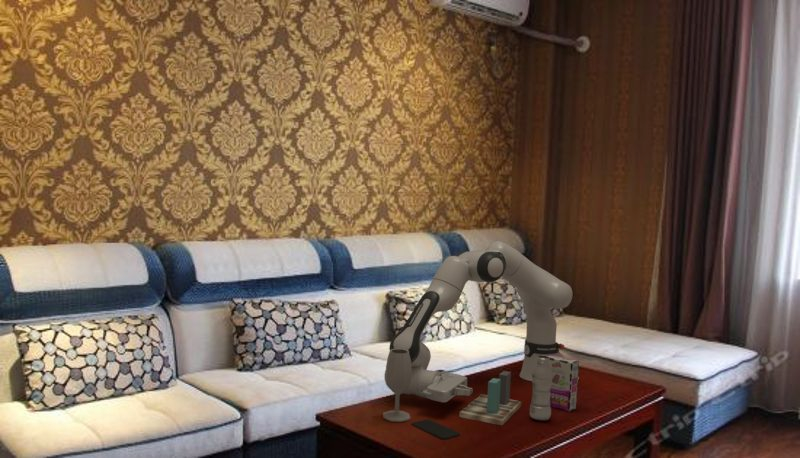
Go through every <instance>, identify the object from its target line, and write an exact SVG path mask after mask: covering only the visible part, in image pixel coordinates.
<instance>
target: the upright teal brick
mask: <svg viewBox="0 0 800 458" xmlns="http://www.w3.org/2000/svg"><path fill="white" fill-rule="evenodd" d="M500 386H501V379H499V378H496V377H495V378H494V377H493V378H491V379H490V380H489V381H487V395H488V397H487V412H488V413H493V414H496V413H497V412H498V411H499V403H500Z"/></svg>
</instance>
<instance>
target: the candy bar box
mask: <svg viewBox="0 0 800 458" xmlns="http://www.w3.org/2000/svg"><path fill="white" fill-rule="evenodd" d="M547 356H548V357H549V358H550V359H549V362H550V363H549V364H548V365H549V367H550V368H551V370H552V373H553V378H552V383H551V390H550V406H551V408H554V409H559V410H562V411H565V412H567V413H568V412H572V411H574V410H576V409H577V401H578V400H577V399H578V398H577V397H578V382H579V381H578V377H579V366H580V360H577V359H572V358H567V357H566V358H564V357H559V356H555V355H547Z"/></svg>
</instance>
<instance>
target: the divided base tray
mask: <svg viewBox="0 0 800 458" xmlns="http://www.w3.org/2000/svg"><path fill="white" fill-rule="evenodd" d="M487 397H488V394H483V393H480V395H479V396H478V397H475V399H473V401H471V402H469V404H468V405H466V406H465V407H463V408H462V410H460V411H459V414H458V415H459V416H458V417H459V418H463V419H467V420H468V419H469V420H473V421H478V422H482V423H486V424H493V425H496V426H497V425H498V426H504V424H506V423H507V422H508V421H509V420H510V418H511V417H512V416H513V415H515V413H517V412H518V410H519V409H520V408H521V407H522V401H519V400H516V399H515V400H514V399H511V398H509V403H508V404H506V405H502V404H499V411H498V412H497V413H496V414H493V413H488V412H487Z"/></svg>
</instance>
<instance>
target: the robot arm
mask: <svg viewBox="0 0 800 458" xmlns="http://www.w3.org/2000/svg"><path fill="white" fill-rule="evenodd" d="M501 278H502V279H504V280H505V281H506V282H508V283H509V284H510V285H512V286H513V287H514V288H516V292H517V294H518V296H519V297H520V299H521V301H522V304H523V308H524V310H525V311H524V312H525V317H526V333H525V334H526V336H525V340H524V346H523V347H524V348H523V353H524V357H523V361H522V362H523V363H522V366H521V370H520V373H519V377H520V378H521V379H522V380H525V381H529V382H532V370H533V369H534V367H535V366H536V365H537V364H538V363H537V357H538V356H547V355H555V356H559V357H564V358H567V357H566V356H565V355H564V354H563V353H561V352H560V350H564V349H565V345H564V344H562V343H558V342H557V325H558V324H557V320H556V318H555V317H554V316H553V314H552V312H551V311H552V310H551V309H558V310H559V309H565V308H567V307H568V306H569V305H570V304H571V303H572V299H573V290H572V287H571V286H570V285H569V284H568V283H566V282H565V281H563V280H561V279H559V278H558V277H556V276H555V275H554V274H551V273H550V272H549V271H547V270H545V269H543V268H541V267H540V266H538V265H536V264H535V263H534V262H532V261H531V260H530V259H528V257H526V256H525V255H523V254H522V253H521V252H520V251H519V250H517V249H516V248H514V247H512V246H511V245H509V244H508V243H505V242H504V241H501V240H497V241H493V242H491V243H490V244H489V245H488V246H487V248H486V250H464V251H461V252H459V253H457V254H456V255H451V256H450V255H449V256H447V257H446V258H445V259H444V261H443V262H442V263H441V265H440V266H439V268H437V271H435V274H434V276H433V278H432V280H431V282H430V284H429V286H428V288H427V289H426V291H425V292H424V294H423V295H422V296H421V297H420V299H419V300H418V302H417V303H416V305H415V307H414V309H413V310H412V312H411V314H410V315H409V317H408V319H407V320H406V322H405V324H404V325H403V327H401V329H400V330H399V331H398V332H397V333H395V335H394V336H393V337H392V338H391V340H390V343H389V348H388V349H389V351H390V350H391V349H405V350H408V351H409V355H410V359H411V368H412V377H411V382H410V385H409V388H408V389H407V390H405V391H404V392H403V393H402V394H405V395H415V396H418V397H420V398H425V399H429V400H431V401H435V402H439V403H447V402H448V401H451V399H453V398H454V397H455V396H467V397H469V396H471V394H473V392H474V391H473V388H472V387H468V377H466V376H465V375H462V374H457V373H454V372H447V371H446V370H445V369H437V370H431V369H430V370H429V369H428V367H429V365H430V361H431V359H432V355H431V350H430V349H429V347H428V346H427V345H425V343H423V341H421V337H422V334H423V333H424V331H425V329H426V327H427V326H428V324H429V322H430V321H431V319H432V317H433V316H434V315H435V314H437V313H439V312H440V313H441V312H447V311H451V310H452V309H453V308H454V307H455V306H456V304H457V303H458V301H459V300H460V297H461V296H462V293H463V291H464V289H465V286H466V284H467V283H468V281H471V282H477V283H481V282H482V283H484V282H485V283H493V282H496V281H498V280H500V279H501ZM578 380H580V377H579V376H578ZM384 381H385V382H384V383H385V384H386V386H387V387H388V385H387V380H386V369H385V371H384Z"/></svg>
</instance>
